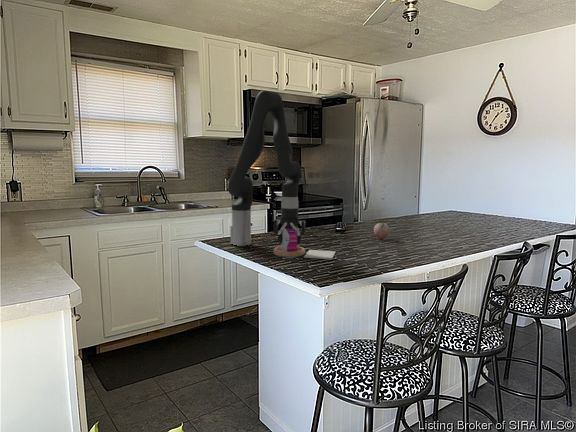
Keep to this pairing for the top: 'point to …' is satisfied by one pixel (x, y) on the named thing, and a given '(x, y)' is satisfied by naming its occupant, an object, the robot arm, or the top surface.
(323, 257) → the rubber mat
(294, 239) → the supplement box
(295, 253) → the tan faceted ring
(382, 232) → the decorative fruit
